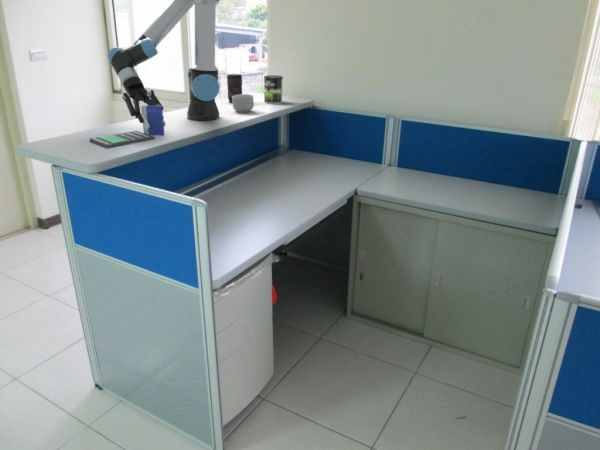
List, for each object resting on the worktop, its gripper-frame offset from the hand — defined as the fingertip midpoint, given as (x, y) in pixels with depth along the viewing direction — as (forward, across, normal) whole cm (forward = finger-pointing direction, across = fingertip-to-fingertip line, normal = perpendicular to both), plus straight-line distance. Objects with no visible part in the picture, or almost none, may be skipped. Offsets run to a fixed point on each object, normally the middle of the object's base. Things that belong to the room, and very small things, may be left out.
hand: (156, 127), depth 205 cm
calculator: (+1, +14, -4) cm, 14 cm away
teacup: (-10, -61, -15) cm, 64 cm away
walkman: (+1, 0, -4) cm, 5 cm away
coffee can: (-16, -90, -20) cm, 94 cm away
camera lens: (-26, -74, -30) cm, 84 cm away
